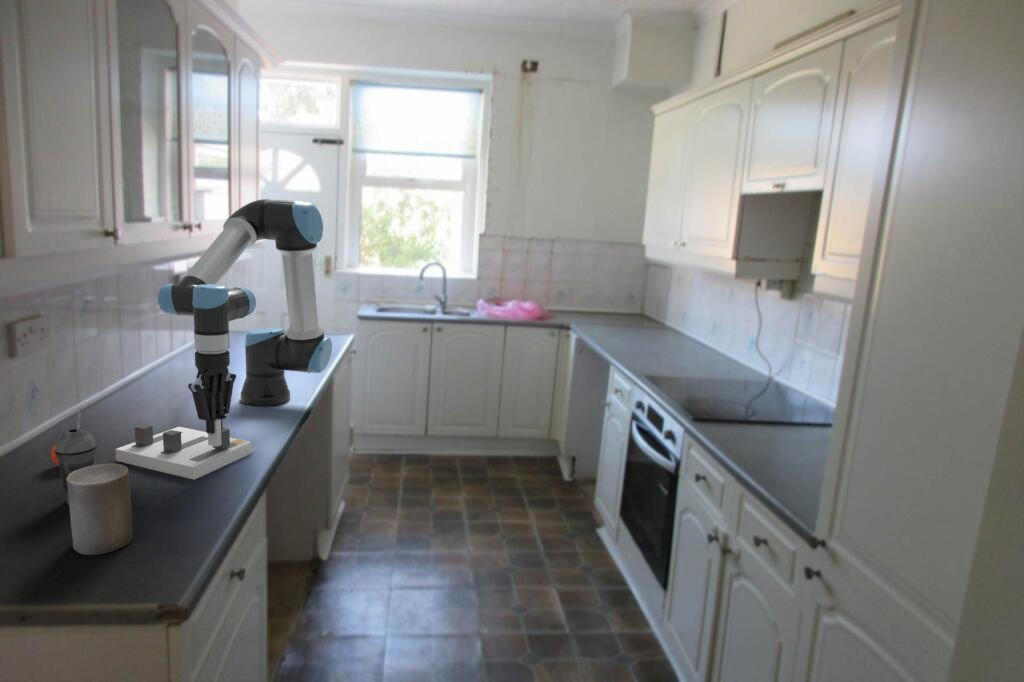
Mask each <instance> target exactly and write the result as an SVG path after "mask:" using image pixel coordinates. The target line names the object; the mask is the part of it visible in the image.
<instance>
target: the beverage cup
mask: <svg viewBox="0 0 1024 682" xmlns="http://www.w3.org/2000/svg"><path fill="white" fill-rule="evenodd" d="M81 413H82V408H81V407H78V408H77V419H76V428H72V429H69V430H66V431H65V432H63V433H62V434H61V435H60V436H59V437H58V439H57V440H56V442H55V444H56V445H55V444H54V445H55V451H54V452H55V453H56V457H57V460H58V462H59V465H58V466H59V472H60V477H61V483H62V487H63V492H64V497H65V500H66V504H67V505H68V506H69V497H68V486H67V479H66V478H67V477H68V475H69V474H70V473H72V472H73V471H76V470H79V469H81V468H84V467H88V466H93V465H95V457H96V452H97V447H98V446H97V444H96V440H95V438H94V436H93V435H92V434H91V433H90V432H89V431H87V430H85V429H82V428H81V417H82V415H81Z"/></svg>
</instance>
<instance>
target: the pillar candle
mask: <svg viewBox="0 0 1024 682" xmlns="http://www.w3.org/2000/svg"><path fill="white" fill-rule="evenodd" d="M129 471H130V470H129V468H128V466H126V465H123V464H121V463H101V464H94V465H93V466H88V467H84V468H81V469H79V470H76V471H73V472H72V473H70V474H69V475H68V477H67V478H66V479H67V486H68V497H69V505H68V506H69V516H70V517H69V518H70V528H71V536H72V537H71V538H72V548H73V550H74V551H75V552H77V553H79V554H80V555H84V556H95V555H97V556H98V555H103V554H108V553H110V552H111V553H112V552H114V551H116V550H117V551H118V550H119V549H121V548H123V547H125V546H128V545H129V544H130V543H131V542H132V541H133V540H134V537H135V536H134V532H133V529H134V528H133V525H134V524H133V513H132V499H131V488H130V487H131V486H130V474H129Z"/></svg>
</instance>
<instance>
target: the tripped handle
mask: <svg viewBox="0 0 1024 682" xmlns="http://www.w3.org/2000/svg"><path fill="white" fill-rule="evenodd" d="M230 430H231V429H229V428H224V427H223V428H222V430H221V440H222V445H220V446H218V447H216V446H213V448H217V449H221V450H223V449H225V448H228V447H230V437H231V435H230V433H231V432H230Z"/></svg>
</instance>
